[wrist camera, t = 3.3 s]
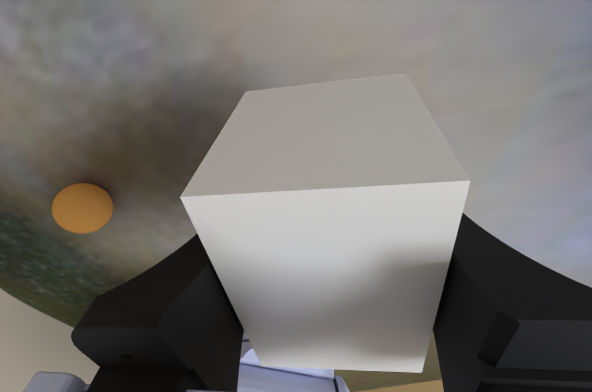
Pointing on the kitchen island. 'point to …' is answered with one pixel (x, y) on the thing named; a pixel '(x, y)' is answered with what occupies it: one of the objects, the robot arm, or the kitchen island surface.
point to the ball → (82, 208)
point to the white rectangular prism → (332, 222)
